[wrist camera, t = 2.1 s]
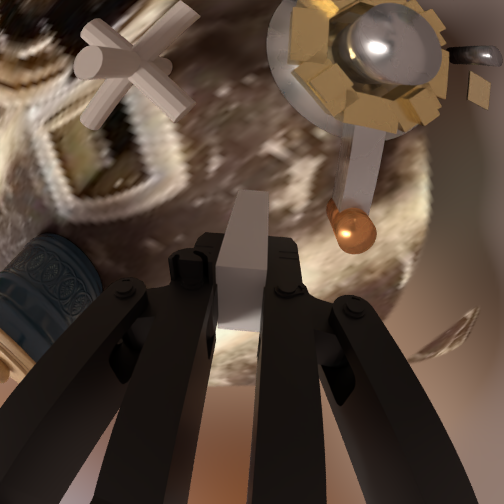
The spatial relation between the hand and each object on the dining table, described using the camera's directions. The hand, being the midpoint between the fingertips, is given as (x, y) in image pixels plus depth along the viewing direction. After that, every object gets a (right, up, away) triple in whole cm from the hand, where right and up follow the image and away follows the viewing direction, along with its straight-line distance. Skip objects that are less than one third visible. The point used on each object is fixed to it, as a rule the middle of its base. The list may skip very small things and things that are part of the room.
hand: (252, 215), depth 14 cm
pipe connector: (-7, +13, +3) cm, 15 cm away
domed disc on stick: (+8, +9, +2) cm, 12 cm away
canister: (-24, -5, +15) cm, 29 cm away
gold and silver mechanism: (+12, +13, +1) cm, 17 cm away
